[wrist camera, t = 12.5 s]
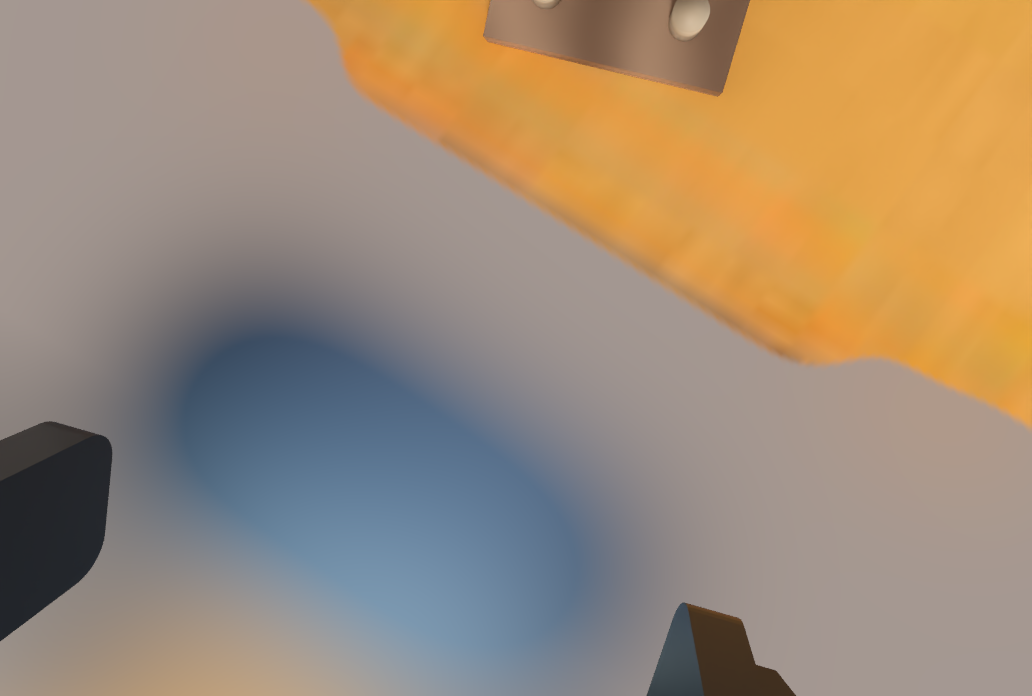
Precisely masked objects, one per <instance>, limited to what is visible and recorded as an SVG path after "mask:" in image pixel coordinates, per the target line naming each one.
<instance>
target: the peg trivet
mask: <svg viewBox="0 0 1032 696" xmlns="http://www.w3.org/2000/svg"><path fill="white" fill-rule="evenodd" d="M749 1H750V0H491V1H490V6H489V11H488V15H487V20H486V25H485V30H484V34H483V36H484V38H485V39H486V40H487V41H488V42H491V43H495V44H499V45H504V46H508V47H512V48H516V49H520V50H525V51H529V52H533V53H537V54H541V55H546V56H550V57H554V58H558V59H562V60H567V61H571V62H575V63H579V64H583V65H588V66H592V67H596V68H600V69H604V70H609V71H613V72H617V73H621V74H625V75H630V76H634V77H638V78H642V79H646V80H651V81H655V82H659V83H663V84H667V85H672V86H676V87H680V88H684V89H688V90H693V91H697V92H701V93H705V94H709V95H714V96H719V95H720V94H721V93H722V92H723V89H724V85H725V82H726V79H727V75H728V72H729V69H730V65H731V62H732V58H733V55H734V52H735V48H736V45H737V42H738V38H739V35H740V32H741V28H742V25H743V22H744V18H745V15H746V12H747V8H748V5H749Z"/></svg>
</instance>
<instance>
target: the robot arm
mask: <svg viewBox="0 0 1032 696" xmlns="http://www.w3.org/2000/svg"><path fill="white" fill-rule="evenodd" d="M111 464H112V447H111V444H110V442H109V440H108V439H107V438H106V437H104V436H102V435H99V434H95V433H91V432H88V431H85V430H81V429H77V428H74V427H71V426H67V425H64V424H60V423H57V422H50V421H49V422H44V423H40V424H38V425H36V426H33V427H31V428H29V429H27V430H24V431H22V432H19V433H17V434H15V435H12V436H10V437H8V438H5V439H3V440H1V441H0V641H1V640H3V639H4V638H5V637H7V636H8V635H9V634H10V633H12V632H13V631H15V630H16V629H17V628H19V627H20V626H21V625H23V624H24V623H25V622H26V621H28V620H29V619H30V618H32V617H33V616H34V615H36V614H37V613H38V612H40V611H41V610H42V609H44V608H45V607H46V606H48V605H49V604H50V603H52V602H53V601H54V600H56V599H57V598H58V597H59V596H61V595H62V594H64V593H65V592H66V591H67V590H69V589H70V588H71V587H73V586H74V585H75V584H77V583H78V582H79V581H80V580H81V579H82V578H83V577H84V576H85V575H86V574H87V573H88V571H89V570H90V569H91V567H92V566H93V564H94V563H95V561H96V559H97V557H98V555H99V553H100V550H101V548H102V545H103V541H104V536H105V526H106V516H107V506H108V496H109V485H110V474H111ZM647 696H796V695H795V694H794V693H793V691H792V690H791V689H790V688H789V686H788V685H787V684H786V683H785V682H784V680H783V679H782V678H781V676H780V675H779V674H778V673H777V671H775V670H772V669H769V668H765V667H762V666H758V665H756V664H755V661H754V658H753V654H752V651H751V648H750V645H749V641H748V638H747V635H746V631H745V628H744V625H743V623H742V621H741V619H739V618H737V617H733V616H730V615H726V614H723V613H719V612H716V611H712V610H709V609H705V608H701V607H698V606H694V605H691V604H687V603H682V604H680V606H679V607H678V609H677V610H676V613H675V615H674V618H673V620H672V623H671V626H670V629H669V632H668V635H667V638H666V641H665V644H664V646H663V649H662V652H661V655H660V658H659V661H658V664H657V667H656V670H655V673H654V676H653V679H652V681H651V684H650V687H649V691H648V693H647Z"/></svg>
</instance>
